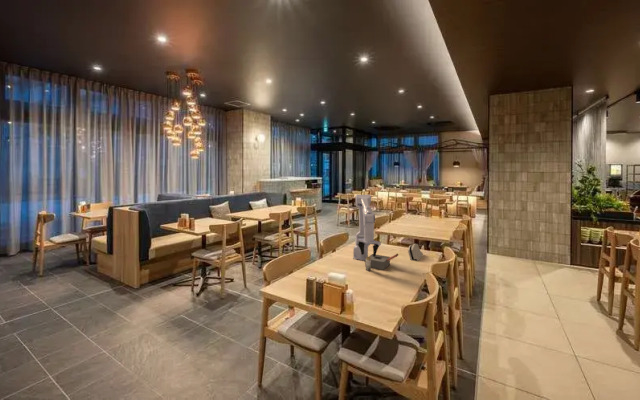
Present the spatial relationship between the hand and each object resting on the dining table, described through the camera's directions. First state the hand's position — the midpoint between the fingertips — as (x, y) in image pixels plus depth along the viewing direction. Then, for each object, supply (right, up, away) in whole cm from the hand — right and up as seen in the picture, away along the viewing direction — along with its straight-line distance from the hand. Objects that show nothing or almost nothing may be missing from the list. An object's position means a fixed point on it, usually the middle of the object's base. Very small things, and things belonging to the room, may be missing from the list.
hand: (368, 255), depth 187 cm
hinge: (+37, -6, +27) cm, 46 cm away
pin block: (+7, -8, +10) cm, 15 cm away
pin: (0, -9, +1) cm, 9 cm away
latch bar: (+16, -2, +4) cm, 16 cm away
